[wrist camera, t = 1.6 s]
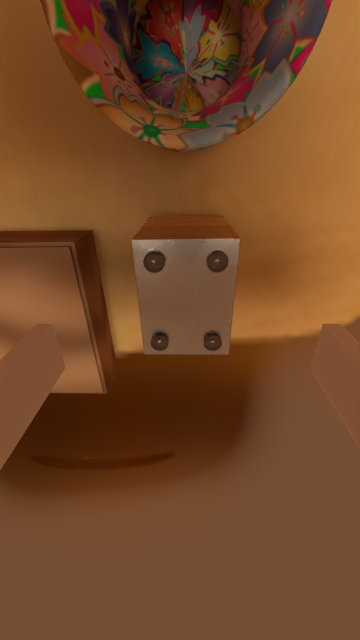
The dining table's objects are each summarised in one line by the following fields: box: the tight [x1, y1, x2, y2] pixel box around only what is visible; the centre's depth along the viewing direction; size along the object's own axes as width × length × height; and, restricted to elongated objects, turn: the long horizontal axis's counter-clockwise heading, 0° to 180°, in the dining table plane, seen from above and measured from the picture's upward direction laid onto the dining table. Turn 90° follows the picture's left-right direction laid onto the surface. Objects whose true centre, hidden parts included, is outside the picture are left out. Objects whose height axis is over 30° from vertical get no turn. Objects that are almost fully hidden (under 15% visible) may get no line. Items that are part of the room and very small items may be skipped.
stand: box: [0, 231, 117, 393], centre depth 24 cm, size 15×14×4 cm
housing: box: [132, 216, 240, 354], centre depth 20 cm, size 8×6×8 cm
